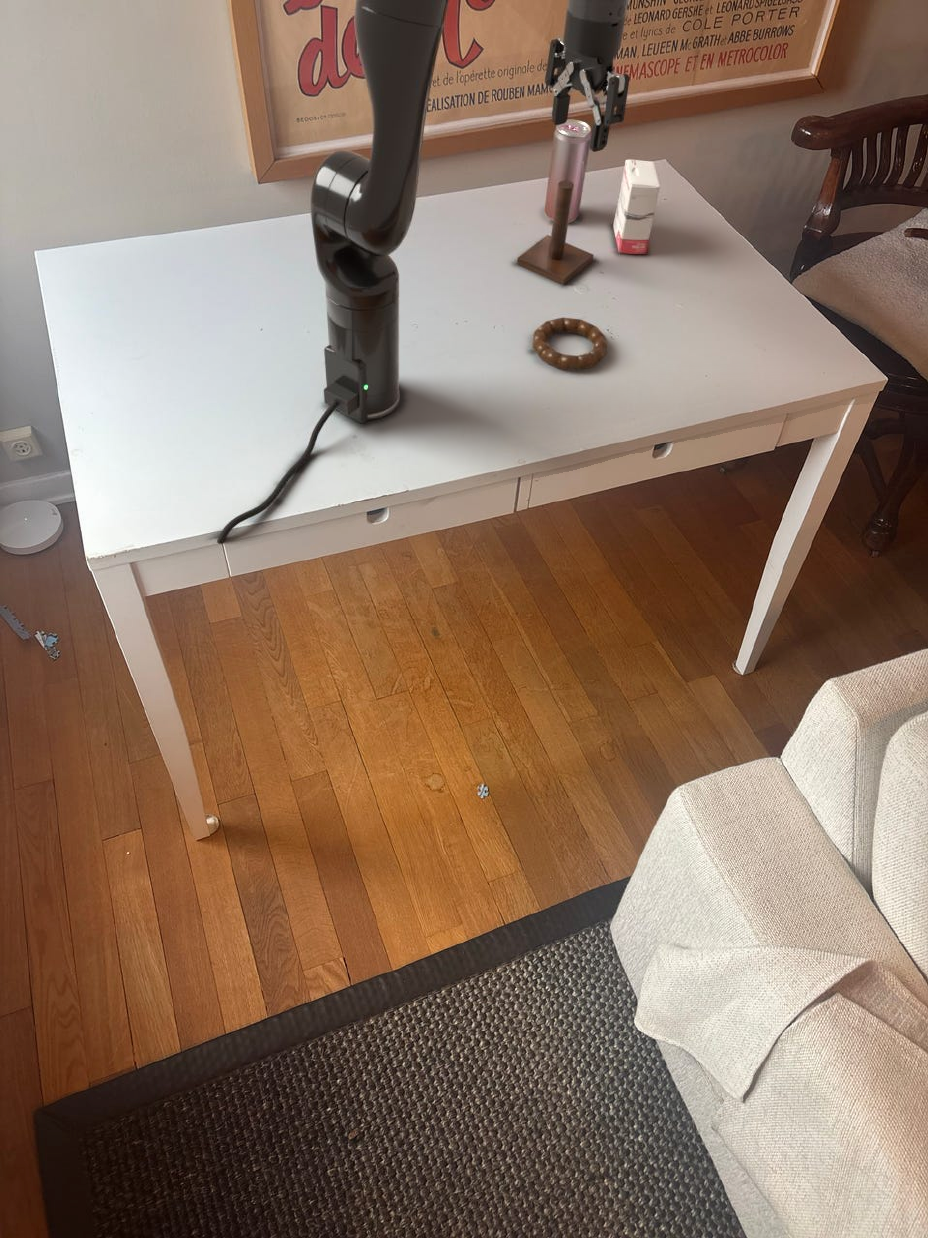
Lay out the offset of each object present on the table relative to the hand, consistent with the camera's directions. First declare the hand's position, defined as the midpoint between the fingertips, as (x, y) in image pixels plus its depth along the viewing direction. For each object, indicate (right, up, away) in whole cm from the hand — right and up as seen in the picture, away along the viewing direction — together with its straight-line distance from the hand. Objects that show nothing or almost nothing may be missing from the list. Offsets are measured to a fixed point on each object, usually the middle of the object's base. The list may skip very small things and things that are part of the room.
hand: (577, 136), depth 134 cm
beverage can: (+1, +2, +32) cm, 32 cm away
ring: (0, -27, +8) cm, 28 cm away
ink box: (+12, -4, +28) cm, 31 cm away
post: (-1, -9, +23) cm, 25 cm away
